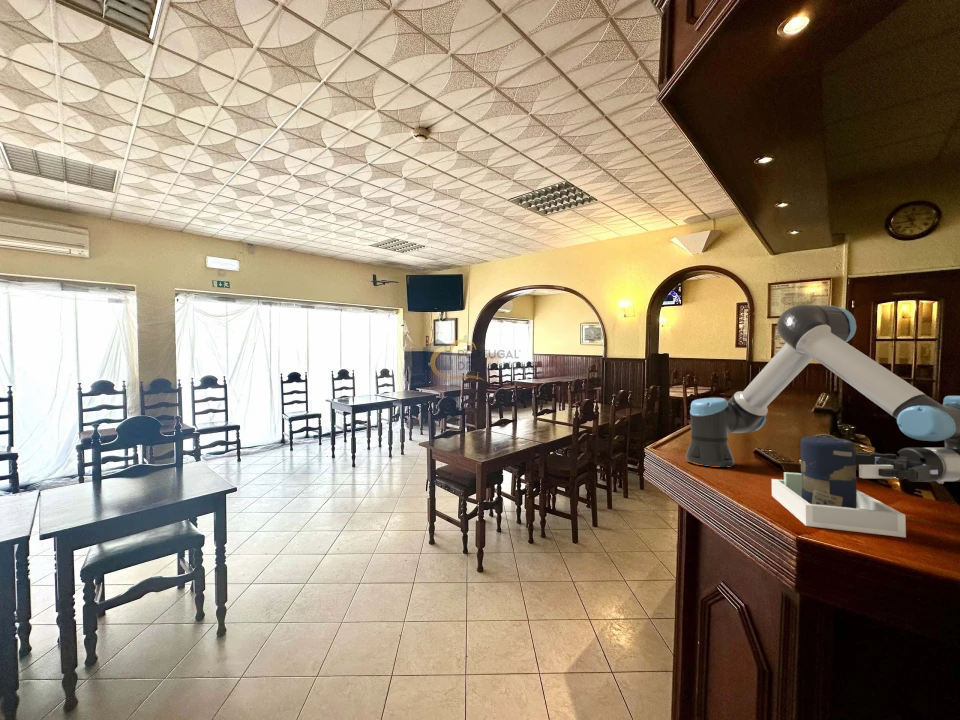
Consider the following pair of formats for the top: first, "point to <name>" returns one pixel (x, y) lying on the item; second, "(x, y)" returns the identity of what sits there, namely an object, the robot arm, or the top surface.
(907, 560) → the top surface
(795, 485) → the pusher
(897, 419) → the robot arm
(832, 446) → the dark blue canister
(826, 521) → the white tray
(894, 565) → the top surface
